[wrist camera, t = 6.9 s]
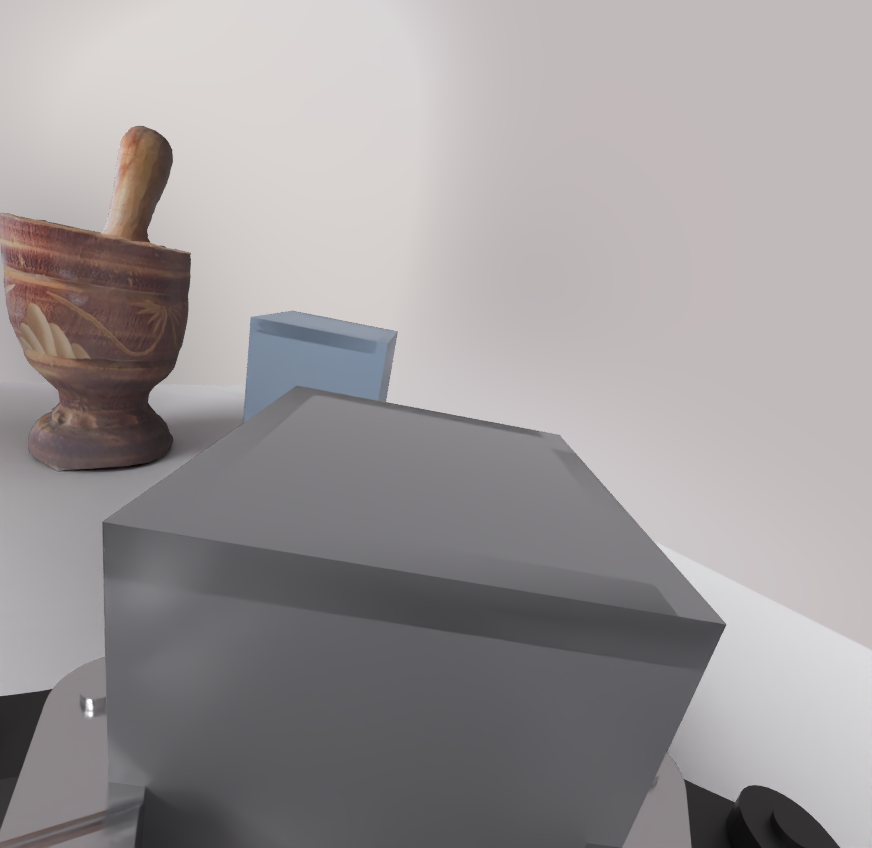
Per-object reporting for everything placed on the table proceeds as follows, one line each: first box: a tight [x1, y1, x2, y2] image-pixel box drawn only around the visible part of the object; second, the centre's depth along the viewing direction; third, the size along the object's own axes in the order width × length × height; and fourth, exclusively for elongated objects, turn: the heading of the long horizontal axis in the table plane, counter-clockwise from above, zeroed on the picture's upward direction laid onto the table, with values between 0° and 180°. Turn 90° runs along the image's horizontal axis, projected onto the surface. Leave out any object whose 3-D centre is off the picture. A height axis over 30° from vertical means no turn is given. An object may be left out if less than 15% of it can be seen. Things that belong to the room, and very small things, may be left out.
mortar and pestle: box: [0, 126, 191, 471], centre depth 27 cm, size 12×9×20 cm
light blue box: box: [243, 311, 397, 423], centre depth 24 cm, size 6×6×11 cm
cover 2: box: [102, 386, 726, 848], centre depth 9 cm, size 6×6×11 cm
